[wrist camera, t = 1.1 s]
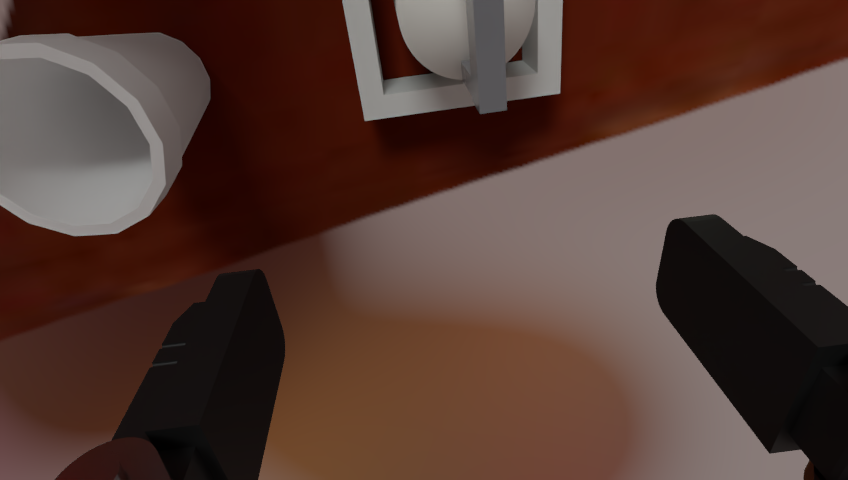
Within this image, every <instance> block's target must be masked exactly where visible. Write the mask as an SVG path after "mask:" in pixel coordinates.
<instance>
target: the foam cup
mask: <svg viewBox="0 0 848 480" xmlns="http://www.w3.org/2000/svg"><path fill="white" fill-rule="evenodd" d="M210 99H211V97H210V78H209V76H208V74H207V71H206V69H205V67H204V65H203V63H202V61H201V59H200V58H199V57H198V56H197V55H196V54H195V53H194V52H193V51H192V50H191V49H190V48H189V47H187V46H186V45H185V44H184V43H183V42H182V41H180V40H177V39H175V38H172V37H170V36H167V35H165V34H162V33H134V34H117V35H100V36H82V37H76V36H74V35H71V34H68V33H66V34H43V35H20V36H16V37H13V38H9V39H5V40H1V41H0V205H1V206H2V207H4V208H6V209H7V210H9V211H10V212H12V213H13V214H15V215H16V216H18V217H20V218H21V219H23V220H24V221H26V222H27V223H30V224H33V225H37V226H40V227H44V228H48V229H51V230H55V231H58V232H62V233H65V234H69V235H72V236H86V235H101V234H117V233H119V232H121V231H123V230H124V229H126V228H128V227H130V226H131V225H133V224H135V223H137V222H139V221H140V220H142V219H144V218H146V217H147V216H149V215H150V214H151V213H152V212H153V210H154V209H155V208H156V207H157V206H158V204H159V203H160V202H161V201H162V200H163V199H164V197H165V196H166V195H167V193H168V191H169V189H170V187H171V186H172V184H173V182H174V180H175V178H176V176H177V174H178V173H179V171H180V169H181V167H182V156H183V154H184V152H185V150H186V148H187V146H188V144H189V142H190V140H191V138H192V136H193V134H194V132H195V130H196V128H197V126H198V124H199V122H200V120H201V118H202V116H203V114H204V112H205V110H206V108H207V106H208V104H209V101H210Z"/></svg>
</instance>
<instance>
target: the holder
mask: <svg viewBox="0 0 848 480" xmlns="http://www.w3.org/2000/svg"><path fill="white" fill-rule="evenodd" d="M342 2H343V7H344V13H345V18H346V23H347V29H348V34H349V39H350V45H351V50H352V55H353V61H354V66H355V71H356V77H357V82H358V87H359V93H360V98H361V103H362V109H363V114H364V119H365V121H369V120H376V119H383V118H390V117H398V116H405V115H412V114H419V113H426V112H433V111H440V110H447V109H454V108H461V107H468V106H475V105H474V103H473V101H472V96H471V94H470V92H469V91H468V89H467V87H466V86H465V84H464V82H463V81H462V80H458V79H451V78H446V77H443V76H440V75H438V74H436V73H430V74H423V75H416V76H409V77H402V78H395V79H388V80H383V75H382V69H381V62H380V56H379V50H378V44H377V37H376V31H375V25H374V19H373V12H372V6H371V0H342ZM562 7H563V0H536V1H535V12H534V17H533V21H532V25H531V28H530V30H529V33H528V35H527V37H526V39H525V41H524V43H523V44H522V61H515V62H508V63H506V92H507V101H510V100H517V99H525V98H532V97H539V96H546V95H553V94H560V82H561V44H562Z"/></svg>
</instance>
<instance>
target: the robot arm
mask: <svg viewBox="0 0 848 480" xmlns="http://www.w3.org/2000/svg"><path fill="white" fill-rule="evenodd" d="M656 293H657V298H658V302H659V305H660V307H661V309H662V312H663V313H664V314H665V316H666V317H667V318H668V320H669V321H670V322H671V324H672V325H673V326H674V328H675V329H676V330H677V332H678V333H679V334H680V336H681V337H682V338H683V340H684V341H685V342H686V343H687V345H688V346H689V348H690V349H691V350H692V351H693V353H694V354H695V355H696V357H697V358H698V359H699V361H700V362H701V363H702V365H703V366H704V367H705V369H706V370H707V371H708V372H709V374H710V375H711V377H712V378H713V379H714V380H715V382H716V383H717V385H718V386H719V387H720V388H721V390H722V391H723V392H724V394H725V395H726V396H727V398H728V399H729V400H730V402H731V403H732V404H733V406H734V407H735V408H736V410H737V411H738V412H739V413H740V415H741V416H742V417H743V419H744V420H745V421H746V423H747V424H748V426H749V427H750V428H751V429H752V431H753V432H754V433H755V434H756V436H757V437H758V439H759V440H760V441H761V443H762V444H763V445H764V447H765V448H766V449H767V451H768V452H769V453H777V452H785V451H792V450H799V449H801V450H802V451H803V452H804V454H805V455H806V456H807V457H808V458H809V462H808V464H807V466H806V468H805V470H804V480H848V306H846V305H845V304H844V303H842V302H841V301H840V300H839V299H838V298H836V297H835V296H834V295H833V294H831V293H830V292H829V291H827V290H826V289H825V288H824V287H822V286H821V285H816V284H815V280H813V279H812V278H811V277H810V276H808V275H807V274H806V273H805V272H803V271H802V270H797V266H796V265H795V264H793V263H792V262H791V261H789V260H788V259H787V258H786V257H784V256H783V255H782V254H781V253H779V252H778V251H777V250H775V249H774V248H771V247H769V246H767V245H765V244H763V243H760V242H758V241H756V240H754V239H752V238H750V237H747V236H743V235H742V234H740V233H739V232H738V231H737V230H735V229H734V228H733V227H732V226H731V225H729V224H728V223H727V222H726V221H724V220H723V219H722V218H721V217H719V216H717V215H704V216H696V217H688V218H679V219H674V220H672V221H671V222H670V224H669V225H668V228H667V231H666V236H665V241H664V246H663V251H662V256H661V262H660V266H659V271H658V277H657V282H656ZM284 357H285V339H284V333H283V329H282V325H281V322H280V319H279V316H278V313H277V310H276V307H275V304H274V301H273V298H272V295H271V292H270V289H269V286H268V283H267V280H266V277H265V275H264V273H263V272H262V271H261V270H260V269H256V270H248V271H239V272H231V273H223V274H220V275H218V277H217V278H216V280H215V282H214V284H213V287H212V289H211V291H210V293H209V295H208V297H207V299H206V301H205V302H199V303H194V304H193V305H192V306H191V307H189V308H188V309H187V310H186V311H185V312H184V313H183V314H182V315H181V316H180V317H179V318H178V319H177V320H176V321H175V322H174V323H173V324H172V326H171V328H170V330H169V332H168V334H167V336H166V338H165V340H164V342H163V343H162V349H159V351H158V353H157V355H156V357H155V359H154V361H153V362H152V364H153V367H151V368H149V370H148V372H147V374H146V376H145V378H144V380H143V382H142V383H141V385H140V387H139V389H138V391H137V393H136V395H135V397H134V399H133V401H132V403H131V404H130V406H129V408H128V410H127V412H126V414H125V416H124V418H123V419H122V421H121V423H120V425H119V427H118V429H117V431H116V433H115V435H114V437H113V438H112V440H111V441H109V442H106V443H103V444H101V445H99V446H97V447H95V448H93V449H91V450H89V451H88V452H86V453H84V454H83V455H81V456H80V457H78V458H77V459H76V460H74V461H73V462H72V463H71V464H69V465H68V466H67V467H66V468H65V469H64V470H63V471H62V472H61V473H60V474H59V475H58V476H57V477H56V479H55V480H258V477H259V473H260V468H261V464H262V459H263V455H264V450H265V445H266V441H267V436H268V432H269V427H270V423H271V418H272V414H273V409H274V404H275V400H276V395H277V390H278V386H279V382H280V377H281V372H282V368H283V363H284Z"/></svg>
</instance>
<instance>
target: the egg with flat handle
mask: <svg viewBox="0 0 848 480" xmlns="http://www.w3.org/2000/svg"><path fill="white" fill-rule="evenodd" d="M535 1H536V0H394V5H395V9H396V14H397V18H398V22H399V26H400V30H401V33H402V36H403V38H404V41H405V43H406V45H407V47H408V48H409V50H410V51H411V53H412V54H413V55H414V57H415V58H416V59H417V60H418V61H419V62H420V63H421V64H422V65H423V66H425V67H426V68H427V69H429V70H430V71H432V72H434V73H436V74H438V75H440V76H443V77H446V78H451V79H458V80H462V81H463V82H464V84H465V86H466V87H467V89H468V91H469V92H470V94H471V96H472V101H473V103H474V105H475V107H476V108H477V110H478V112H479V113H480V114H484V113H491V112H498V111H505V110H507V92H506V63H507V62H508V61H509V60H510V59H511V58H512V57H513V56H514V55H515V54H516V53H517V52H518V50H519V49H520V47H521V46H522V44H523V43H524V41H525V39H526V37H527V35H528V33H529V30H530V28H531V25H532V21H533V17H534V12H535Z"/></svg>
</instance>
